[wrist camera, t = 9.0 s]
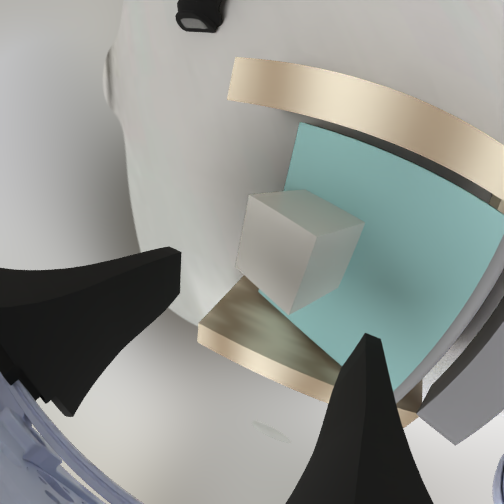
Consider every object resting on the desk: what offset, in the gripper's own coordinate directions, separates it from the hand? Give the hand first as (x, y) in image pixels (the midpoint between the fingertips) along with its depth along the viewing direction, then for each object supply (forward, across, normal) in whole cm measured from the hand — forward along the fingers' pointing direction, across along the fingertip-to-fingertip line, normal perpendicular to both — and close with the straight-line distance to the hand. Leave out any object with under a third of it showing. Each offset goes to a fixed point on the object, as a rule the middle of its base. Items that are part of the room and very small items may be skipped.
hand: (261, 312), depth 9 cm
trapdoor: (+7, -7, 0) cm, 10 cm away
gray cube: (+7, -1, 0) cm, 7 cm away
